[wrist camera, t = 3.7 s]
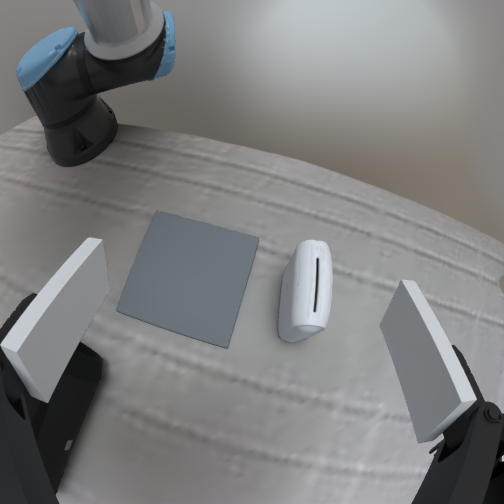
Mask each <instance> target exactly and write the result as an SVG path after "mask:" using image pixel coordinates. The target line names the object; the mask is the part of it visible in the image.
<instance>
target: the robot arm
mask: <svg viewBox="0 0 504 504" xmlns="http://www.w3.org/2000/svg"><path fill="white" fill-rule="evenodd" d="M73 1H74V3H75V4H76V7H77V8H78V10H79V12H80V14H81V16H82V18H83V20H84V21H85V23H86V25H87V29H86V31H85V32H83V33H80V34H78V31H77V30H76V29H75V28H74V27H68V28H67V27H65V28H63V29H60V30H58V31H56V32H54V33H52V34H50V35H49V36H47V37H45V38H44V39H43V40H41V41H40V42H39V43H37V44H36V45H35V46H34V47H33V48H31V49H30V50H29V51H28V52H27V53H26V54H25V56H24V57H23V58H22V59H21V61H20V63H19V65H18V67H17V77H18V80H19V82H20V85H21V89H22V91H24V93H25V95H26V97H27V98H28V100H29V102H30V104H31V106H32V107H33V109H34V111H35V113H36V114H37V116H38V118H39V120H40V121H41V123H42V125H43V127H44V131H45V136H46V141H47V149H48V152H49V154H50V155H51V157H52V158H53V160H54V161H55V162H56V163H57V164H59V165H62V166H75V165H79V164H82V163H84V162H87V161H89V160H91V159H92V158H94V157H95V156H97V155H98V154H100V153H101V152H102V151H103V150H104V149H105V148H106V147H107V146H108V145H109V144H110V142H111V141H112V140H113V138H114V136H115V134H116V131H117V120H116V117H115V114H114V112H113V111H112V109H111V108H110V107H109V106H108V105H107V104H106V103H105V102H104V101H103V100H102V99H101V98H100V97H99V95H98V93H100V92H104V91H107V90H110V89H115V88H118V87H122V86H126V85H129V84H134V83H138V82H142V81H146V80H148V81H151V80H154V79H155V78H159V77H163V76H167V75H168V74H170V73H171V71H172V70H173V68H174V63H175V42H176V40H175V25H174V18H173V15H172V13H170V12H168V11H161V9H160V8H159V6H158V5H156V4H155V3H153V2H151V1H150V0H73ZM109 291H110V287H109V280H108V274H107V268H106V261H105V253H104V245H103V239H96V238H89V237H88V238H87V239H86V240H85V241H84V242H83V243H82V244H81V245H80V247H79V248H78V249H77V250H76V251H75V252H74V253H73V254H72V255H71V256H70V257H69V259H68V260H67V261H66V262H65V263H64V264H63V265H62V266H61V268H60V269H59V270H58V271H57V272H56V273H55V274H54V276H53V277H52V278H51V279H50V280H49V282H48V283H47V284H46V285H45V286H44V287H43V289H42V290H41V291H40V292H39V294H35V293H32V294H31V295H29V296H28V297H26V298H25V299H24V300H22V302H21V303H20V304H19V305H18V307H17V308H16V311H14V312H13V313H12V314H11V315H10V318H8V319H7V321H6V322H5V323H4V325H3V326H2V327H1V329H0V504H59V502H58V500H57V497H56V495H55V493H54V490H53V488H52V485H51V483H50V480H49V478H48V475H47V473H46V470H45V467H44V464H43V462H42V459H41V456H40V453H39V450H38V447H37V443H36V440H35V437H34V433H33V430H32V426H31V422H30V418H29V414H28V410H27V406H26V401H25V398H24V396H23V394H22V393H23V391H24V389H25V387H26V389H27V390H28V392H29V393H30V395H31V396H32V397H35V398H37V399H39V400H41V401H44V402H46V403H48V402H49V400H50V398H51V395H52V393H53V391H54V389H55V387H56V385H57V383H58V381H59V379H60V377H61V375H62V373H63V372H64V370H65V368H66V366H67V364H68V362H69V360H70V358H71V356H72V355H73V353H74V351H75V349H76V347H77V345H78V344H79V342H80V340H81V338H82V337H83V335H84V333H85V331H86V330H87V328H88V326H89V324H90V323H91V321H92V319H93V318H94V316H95V314H96V312H97V311H98V309H99V307H100V306H101V304H102V303H103V301H104V299H105V298H106V296H107V294H108V293H109ZM380 327H381V330H382V333H383V335H384V338H385V341H386V343H387V346H388V349H389V352H390V355H391V357H392V360H393V363H394V366H395V369H396V372H397V375H398V378H399V381H400V384H401V387H402V390H403V393H404V396H405V400H406V403H407V406H408V409H409V413H410V416H411V420H412V423H413V427H414V430H415V434H416V437H417V441H418V443H423V442H428V441H433V440H435V439H436V438H437V437H438V436H439V435H440V434H442V433H443V435H444V439H443V440H442V441H441V442H439V443H438V444H437V445H436V446H435V447H433V448H432V449H431V450H430V452H429V453H430V454H431V453H433V452H434V451H435V450H436V449H437V452H436V454H434V459H433V461H432V463H431V465H430V468H429V470H428V472H427V474H426V476H425V478H424V480H423V482H422V484H421V486H420V488H419V490H418V492H417V494H416V496H415V498H414V500H413V502H412V504H504V461H503V462H502V456H503V455H504V414H502V413H501V411H500V409H499V408H498V406H496V405H495V404H494V403H492V402H485V400H484V398H483V396H482V394H481V392H480V390H479V387H478V385H477V383H476V381H475V379H474V377H473V375H472V373H471V371H470V368H469V366H467V362H466V360H465V359H464V357H463V355H462V353H461V352H460V351H459V350H458V349H457V348H456V347H455V345H451V344H450V342H449V340H448V338H447V337H446V335H445V333H444V331H443V329H442V327H441V325H440V324H439V322H438V320H437V318H436V316H435V315H434V313H433V311H432V309H431V308H430V306H429V304H428V303H427V301H426V299H425V298H424V296H423V294H422V292H421V291H420V289H419V288H418V286H417V284H416V283H415V281H409V280H401V281H400V283H399V285H398V288H397V290H396V292H395V294H394V296H393V298H392V301H391V303H390V305H389V307H388V309H387V311H386V313H385V315H384V317H383V319H382V321H381V323H380Z"/></svg>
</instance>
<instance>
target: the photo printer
mask: <svg viewBox="0 0 504 504" xmlns="http://www.w3.org/2000/svg"><path fill="white" fill-rule="evenodd" d="M331 299H332V260H331V254H330V250H329V247H328V245H327V244H326V243H325V242H323V241H315V240H306V241H303V242H301V243H299V244H298V245H297V247H296V249H295V251H294V253H293V255H292V257H291V259H290V261H289V263H288V265H287V267H286V269H285V272H284V275H283V279H282V287H281V295H280V306H279V321H278V334H279V337H281V338H282V339H283V340H285V341H287V342H291V343H295V342H298V341H300V340H302V339H303V340H305V339H307V338H309V337H311V336H313V335H315V334H317V333H319V332H321V331H323V330H324V329H325V328H326V325H327V322H328V320H329V315H330V308H331Z"/></svg>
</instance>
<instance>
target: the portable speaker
mask: <svg viewBox="0 0 504 504" xmlns="http://www.w3.org/2000/svg"><path fill="white" fill-rule="evenodd" d="M101 370H102V358H101V357H100V356H99V355H98V354H97V353H96V352H94V351H93V350H92V349H90V348H89V347H87V346H86V345H84V344H83V343H81V342H79V344H78V345H77V347H76V349H75V351H74V353H73V355H72V356H71V358H70V360H69V362H68V364H67V366H66V368H65V370H64V372H63V373H62V375H61V377H60V379H59V381H58V383H57V385H56V387H55V389H54V391H53V393H52V395H51V398H50V400H49V402H48V403H46V402H44V401H41V400H39V399H37V398H35V397H32V396H31V395H30V393H29V392H28V390H27V389H26V387H25V389H24V391H23V393H22V394H23V396H24V398H25V401H26V406H27V410H28V414H29V418H30V422H31V426H32V430H33V433H34V437H35V440H36V443H37V447H38V450H39V453H40V456H41V459H42V462H43V464H44V467H45V470H46V473H47V475H48V478H49V480H50V483H51V485H52V488H53V490H54V493H55V494H56V493H57V491H58V487H59V483H60V480H61V478H62V475H63V472H64V469H65V466H66V463H67V460H68V458H69V455H70V452H71V449H72V447H73V444H74V441H75V439H76V436H77V434H78V431H79V429H80V426H81V424H82V421H83V419H84V416H85V414H86V411H87V409H88V407H89V404H90V402H91V399H92V397H93V395H94V392H95V390H96V388H97V386H98V383H99V381H100V380H101Z"/></svg>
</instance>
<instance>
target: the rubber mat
mask: <svg viewBox="0 0 504 504" xmlns="http://www.w3.org/2000/svg"><path fill="white" fill-rule="evenodd" d="M258 242H259V237H255V236H251V235H248V234H244V233H240V232H237V231H233V230H229V229H226V228H222V227H218V226H214V225H211V224H207V223H203V222H200V221H196V220H192V219H188V218H184V217H181V216H177V215H173V214H169V213H166V212H162V211H158V210H156V212H155V215H154V217H153V219H152V221H151V223H150V226H149V228H148V230H147V233H146V235H145V237H144V240H143V242H142V244H141V247H140V249H139V251H138V254H137V256H136V259H135V261H134V264H133V266H132V269H131V271H130V274H129V276H128V279H127V281H126V284H125V287H124V289H123V292H122V295H121V297H120V300H119V303H118V306H117V308H116V311H118V312H121V313H123V314H126V315H128V316H131V317H134V318H136V319H139V320H142V321H145V322H147V323H150V324H153V325H156V326H159V327H161V328H164V329H167V330H170V331H173V332H176V333H179V334H182V335H185V336H188V337H191V338H194V339H198V340H201V341H204V342H207V343H211V344H214V345H217V346H221V347H224V348H227V349H228V345H229V342H230V338H231V335H232V332H233V328H234V325H235V321H236V318H237V314H238V311H239V308H240V304H241V301H242V297H243V294H244V290H245V287H246V284H247V280H248V277H249V273H250V270H251V266H252V263H253V259H254V256H255V253H256V249H257V246H258Z"/></svg>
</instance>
